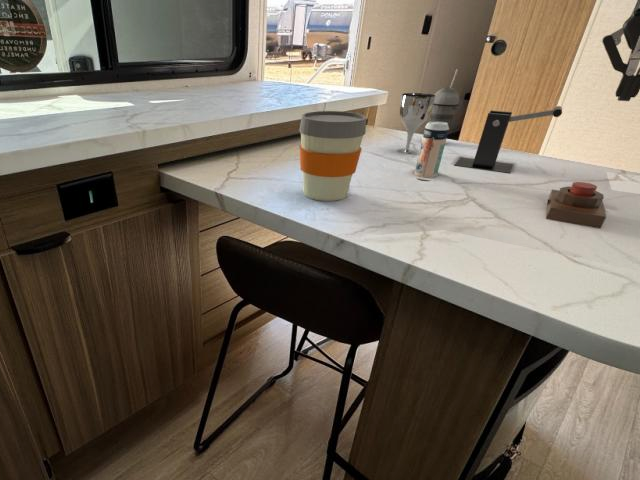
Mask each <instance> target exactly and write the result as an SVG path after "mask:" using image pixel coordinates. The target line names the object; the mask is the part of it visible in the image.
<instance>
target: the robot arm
mask: <svg viewBox="0 0 640 480" xmlns="http://www.w3.org/2000/svg"><path fill="white" fill-rule="evenodd" d="M622 36H624V38H625V41H626V44H627V47H628V48H629V49H630V50H631V51H630V54H629V57H628V60H627V63H625V62H624V60H623V58H622V56H621V54H620V51H619V48H618V46H619V45H620V44H621V43H622ZM601 42H602V45H603V46H604V50H605V52H606V54H607V56H608V59H609V61H610V64H611V65H612V68H613V70H614V71H617V72H619V73H621V74H622V77H621V79H620V81H619V83H618V86H617V88H616V91H615V97H617V101H618V102H630V101H631V98H632V99H633V98H636V97H637V96H638V95H639V92H640V66H639V65H640V0H636V3H635V6H634V8H633V10H632V12H631V15H630V16H629V17H628V18H627V19H626V20H625V21H624V22H623V24H622V26H621V27H620V28H618V29H617V30H615V31H613V32H612V33H610V34H607V35H604V36H603V37H602V39H601Z"/></svg>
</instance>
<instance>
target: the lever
mask: <svg viewBox="0 0 640 480" xmlns="http://www.w3.org/2000/svg"><path fill="white" fill-rule="evenodd" d="M562 114H563V107H562V106H561V105H557V106H555V107H554V108H553V109H548V110H542V111H536V112H529V113H523V114H517V115H511V117H510V118H509V121H508V122H509V123H511V122H518V121H524V120H530V119H538V118H542V117H543V118H544V117H549V116H553V117H554V118H559V117H560V116H562Z"/></svg>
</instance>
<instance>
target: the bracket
mask: <svg viewBox="0 0 640 480" xmlns="http://www.w3.org/2000/svg"><path fill="white" fill-rule="evenodd" d="M512 114H513V111H502V110H490V112H488V113H487V116H486V120H485V122H484V125H483V129H482V132H481V135H480V139H479V143H478V145H477V149H476V153H475V156H474V158H471V157H464V156H460V157H459V158H458V159H457V161H456V162H455V163H454V165H453V167H460V168H466V169H467V168H468V169H473V170H481V171H487V172H495V173H502V174H511V172H512V169H513V167H514V163H512V162H511V163H509V162H502V161H497V159H498V156H499V153H500V150H501V148H502V145H503V142H504V138H505V135H506V132H507V129H508V127H509V123H510V122H508V121H509V118H510V117H511V116H512Z"/></svg>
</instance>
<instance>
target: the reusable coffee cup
mask: <svg viewBox="0 0 640 480" xmlns="http://www.w3.org/2000/svg"><path fill="white" fill-rule="evenodd" d="M366 131H367V116H366V115H365V114H362V113H357V112H351V111H342V110H340V111H339V110H319V111H318V110H317V111H309V112H304V113H303V114H301V118H300V124H299V133H300V140H301V141H300V143H301V144H300V145H299V147H298V148H299V166H300V167H299V169H300V171H301V172H302V189H303V190H302V191H303V192H302V193H303V195H304V196H305V197H306V198H308V199H312V200H315V201H321V202H336V201H341V200H344V199H345V198H346V197H347V196H348V192H349V189H350V184H351V181H352V177H353V175H354V174H355V173H356V170H357V167H358V163H359V159H360V157H361V153H362V147H361V145H362V141H363V137H364V135H366V134H367V133H366Z"/></svg>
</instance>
